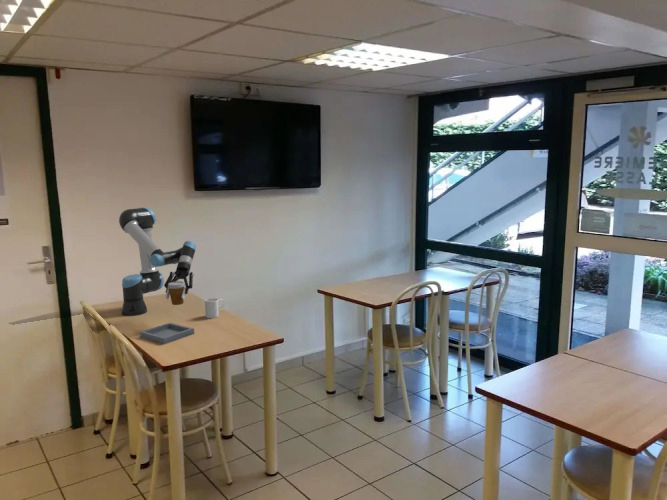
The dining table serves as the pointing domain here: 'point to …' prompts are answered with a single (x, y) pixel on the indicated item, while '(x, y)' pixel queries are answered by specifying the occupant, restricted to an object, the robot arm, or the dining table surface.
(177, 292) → the disposable coffee cup
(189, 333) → the slate tray
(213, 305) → the mug
